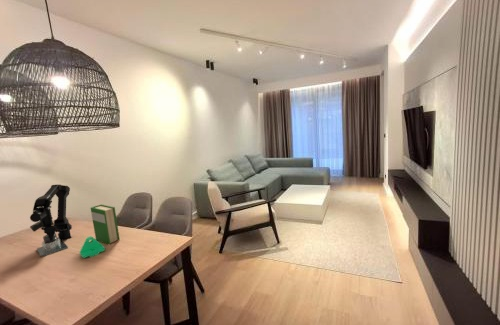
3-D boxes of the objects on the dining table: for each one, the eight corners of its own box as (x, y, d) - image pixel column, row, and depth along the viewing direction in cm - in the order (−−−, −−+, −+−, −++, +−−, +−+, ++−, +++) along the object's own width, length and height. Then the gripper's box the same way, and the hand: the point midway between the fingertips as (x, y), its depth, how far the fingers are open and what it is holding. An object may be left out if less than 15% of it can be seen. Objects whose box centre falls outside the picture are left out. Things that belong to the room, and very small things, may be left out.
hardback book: (119, 240, 170) (114, 207, 167) (108, 244, 164) (103, 210, 161) (106, 235, 180) (101, 204, 177) (96, 239, 174) (90, 207, 171)
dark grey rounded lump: (56, 239, 169) (54, 232, 168) (58, 242, 164) (57, 234, 163) (43, 243, 164) (42, 236, 163) (45, 246, 159) (44, 238, 158)
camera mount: (83, 259, 147) (80, 243, 145) (80, 255, 152) (77, 240, 151) (105, 251, 155) (103, 236, 154) (102, 248, 160) (99, 233, 159)
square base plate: (62, 241, 175) (60, 233, 174) (67, 247, 164) (66, 239, 163) (36, 249, 165) (35, 241, 164) (40, 257, 154) (39, 248, 153)
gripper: (27, 217, 162) (32, 240, 164) (31, 223, 149) (36, 247, 151) (49, 212, 170) (53, 233, 172) (54, 217, 157) (59, 240, 159)
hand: (50, 238), depth 163 cm, fingers closed on dark grey rounded lump, 6 cm apart
